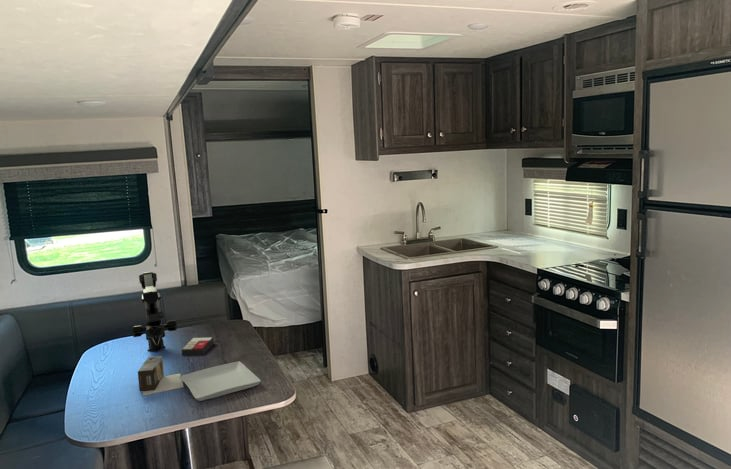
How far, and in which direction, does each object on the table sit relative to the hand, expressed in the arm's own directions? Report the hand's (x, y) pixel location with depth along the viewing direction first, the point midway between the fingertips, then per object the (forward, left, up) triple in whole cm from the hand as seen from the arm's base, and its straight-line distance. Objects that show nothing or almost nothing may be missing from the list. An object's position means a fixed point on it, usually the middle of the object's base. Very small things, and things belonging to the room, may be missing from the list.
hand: (157, 345), depth 244 cm
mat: (+8, -11, -13) cm, 19 cm away
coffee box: (+1, -3, -8) cm, 9 cm away
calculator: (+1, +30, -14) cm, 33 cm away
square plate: (+34, -8, -14) cm, 38 cm away
